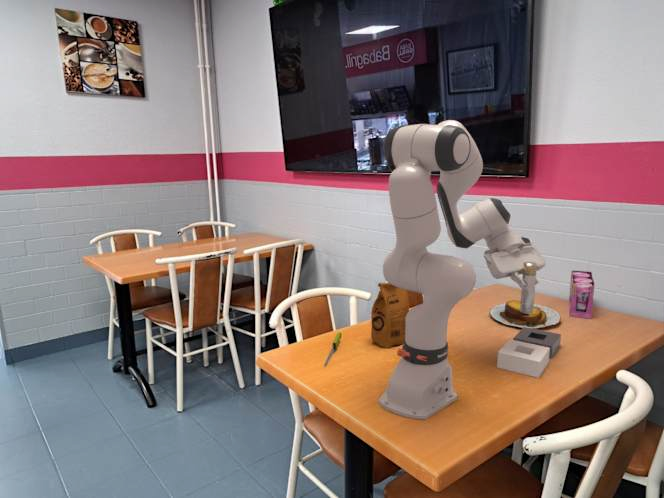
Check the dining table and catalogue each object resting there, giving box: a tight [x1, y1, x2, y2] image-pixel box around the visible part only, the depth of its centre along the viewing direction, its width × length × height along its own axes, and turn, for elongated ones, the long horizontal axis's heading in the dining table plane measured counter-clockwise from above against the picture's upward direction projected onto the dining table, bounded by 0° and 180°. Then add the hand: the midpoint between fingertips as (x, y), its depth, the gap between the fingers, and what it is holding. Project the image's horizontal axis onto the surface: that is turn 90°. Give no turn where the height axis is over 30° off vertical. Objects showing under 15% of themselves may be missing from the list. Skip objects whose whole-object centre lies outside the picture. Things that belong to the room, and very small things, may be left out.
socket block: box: [512, 327, 562, 359], centre depth 156 cm, size 12×12×4 cm
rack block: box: [496, 339, 550, 379], centre depth 143 cm, size 12×12×5 cm
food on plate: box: [489, 299, 562, 332], centre depth 182 cm, size 25×25×7 cm
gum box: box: [568, 270, 595, 320], centre depth 190 cm, size 24×8×14 cm, turn 154°
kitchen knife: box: [324, 332, 342, 367], centre depth 154 cm, size 22×1×3 cm, turn 167°
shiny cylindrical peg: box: [520, 262, 537, 314], centre depth 139 cm, size 4×4×15 cm
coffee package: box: [370, 282, 410, 349], centre depth 162 cm, size 10×12×22 cm
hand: (530, 285), depth 138 cm, fingers closed on shiny cylindrical peg, 4 cm apart
